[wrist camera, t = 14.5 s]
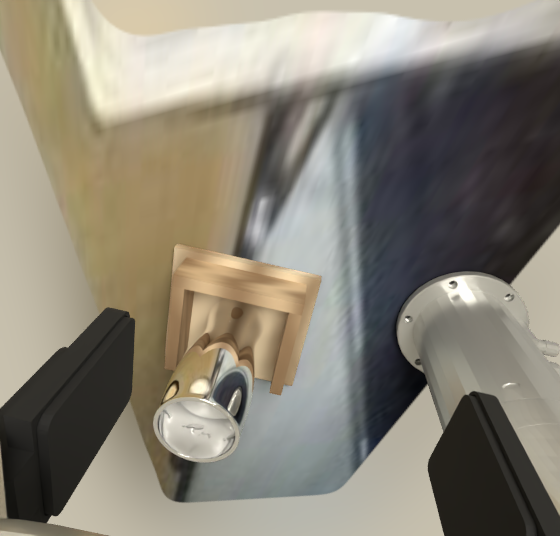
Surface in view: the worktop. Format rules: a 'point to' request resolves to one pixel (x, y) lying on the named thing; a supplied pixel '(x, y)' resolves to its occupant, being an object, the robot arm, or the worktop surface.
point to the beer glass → (212, 386)
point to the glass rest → (249, 289)
